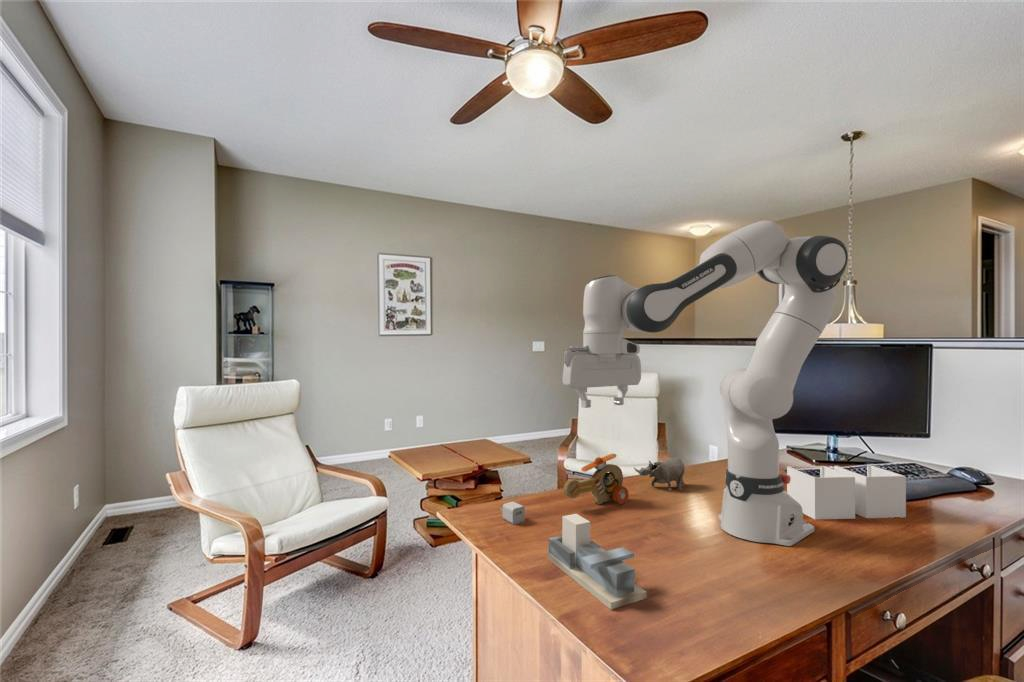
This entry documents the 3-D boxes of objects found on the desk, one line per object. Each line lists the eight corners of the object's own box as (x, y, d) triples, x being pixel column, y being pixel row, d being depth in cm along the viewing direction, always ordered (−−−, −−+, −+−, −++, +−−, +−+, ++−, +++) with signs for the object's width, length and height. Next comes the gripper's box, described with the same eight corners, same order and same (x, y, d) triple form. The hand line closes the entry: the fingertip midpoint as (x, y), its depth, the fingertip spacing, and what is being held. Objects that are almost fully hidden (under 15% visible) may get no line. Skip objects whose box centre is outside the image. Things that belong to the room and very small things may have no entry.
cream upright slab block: (576, 551, 99) (576, 513, 99) (590, 561, 94) (590, 521, 94) (562, 554, 97) (562, 516, 97) (575, 564, 93) (575, 524, 93)
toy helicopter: (631, 502, 132) (631, 454, 133) (575, 516, 122) (575, 464, 122) (611, 494, 139) (611, 448, 140) (556, 507, 128) (556, 457, 129)
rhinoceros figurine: (703, 481, 144) (676, 443, 143) (673, 510, 141) (645, 471, 140) (688, 476, 152) (662, 440, 151) (659, 504, 148) (632, 467, 147)
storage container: (814, 520, 120) (814, 477, 120) (787, 505, 131) (787, 466, 131) (905, 518, 121) (905, 476, 122) (870, 503, 132) (870, 465, 132)
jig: (582, 550, 102) (582, 522, 102) (651, 596, 83) (651, 563, 83) (543, 559, 97) (543, 530, 97) (606, 611, 79) (606, 575, 79)
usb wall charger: (512, 525, 116) (512, 509, 116) (496, 516, 122) (496, 501, 122) (525, 521, 118) (525, 505, 118) (509, 513, 124) (509, 498, 124)
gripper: (572, 346, 99) (572, 411, 99) (645, 346, 109) (645, 405, 109) (557, 346, 105) (557, 407, 105) (627, 346, 114) (627, 402, 114)
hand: (602, 406), depth 107 cm, fingers open, 8 cm apart
